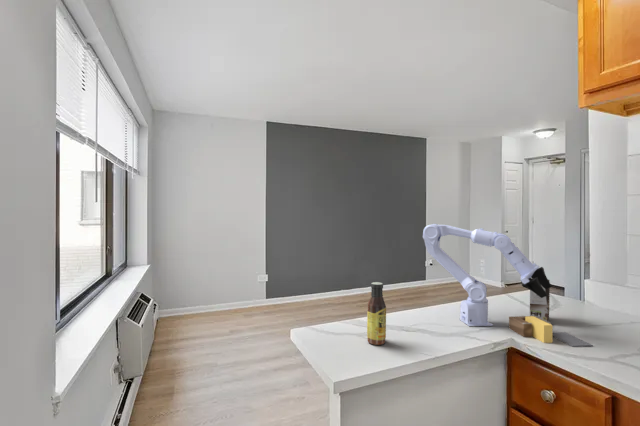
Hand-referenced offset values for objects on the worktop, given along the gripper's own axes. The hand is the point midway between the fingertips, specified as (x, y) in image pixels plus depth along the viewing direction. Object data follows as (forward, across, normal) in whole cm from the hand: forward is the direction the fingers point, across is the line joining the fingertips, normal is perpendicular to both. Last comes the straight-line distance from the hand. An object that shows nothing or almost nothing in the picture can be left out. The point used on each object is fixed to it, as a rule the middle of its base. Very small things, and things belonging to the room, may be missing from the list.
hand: (546, 292), depth 115 cm
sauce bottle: (-21, -52, +32) cm, 65 cm away
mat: (+15, -5, +3) cm, 16 cm away
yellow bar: (+10, -10, +9) cm, 16 cm away
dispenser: (+8, -7, +12) cm, 16 cm away
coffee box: (+12, +11, +15) cm, 22 cm away
